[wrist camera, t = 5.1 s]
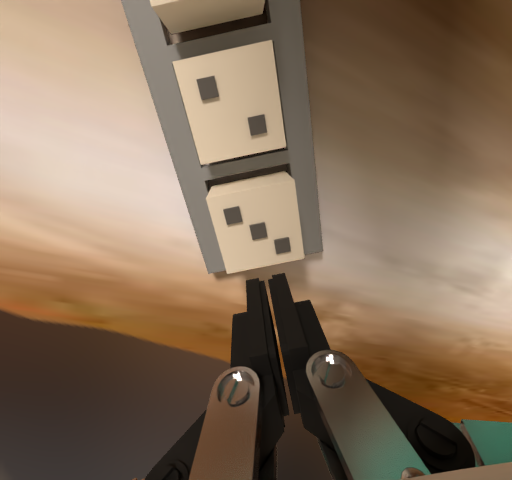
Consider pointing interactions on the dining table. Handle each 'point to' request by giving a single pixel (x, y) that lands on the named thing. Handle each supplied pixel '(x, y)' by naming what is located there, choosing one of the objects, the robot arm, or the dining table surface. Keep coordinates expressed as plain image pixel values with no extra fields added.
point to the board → (178, 128)
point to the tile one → (203, 12)
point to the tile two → (232, 101)
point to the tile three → (256, 221)
